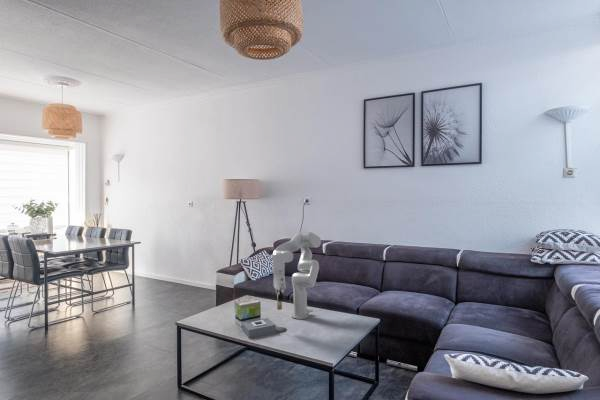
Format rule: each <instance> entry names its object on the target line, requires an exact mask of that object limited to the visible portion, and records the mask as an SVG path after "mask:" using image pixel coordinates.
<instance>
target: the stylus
mask: <svg viewBox="0 0 600 400" xmlns="http://www.w3.org/2000/svg"><path fill="white" fill-rule="evenodd" d="M278 295H279V293H278V290H277V300H276V305H277V306H276V308H277V310H279V311H281V310H282V309H283V301H278Z"/></svg>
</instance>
